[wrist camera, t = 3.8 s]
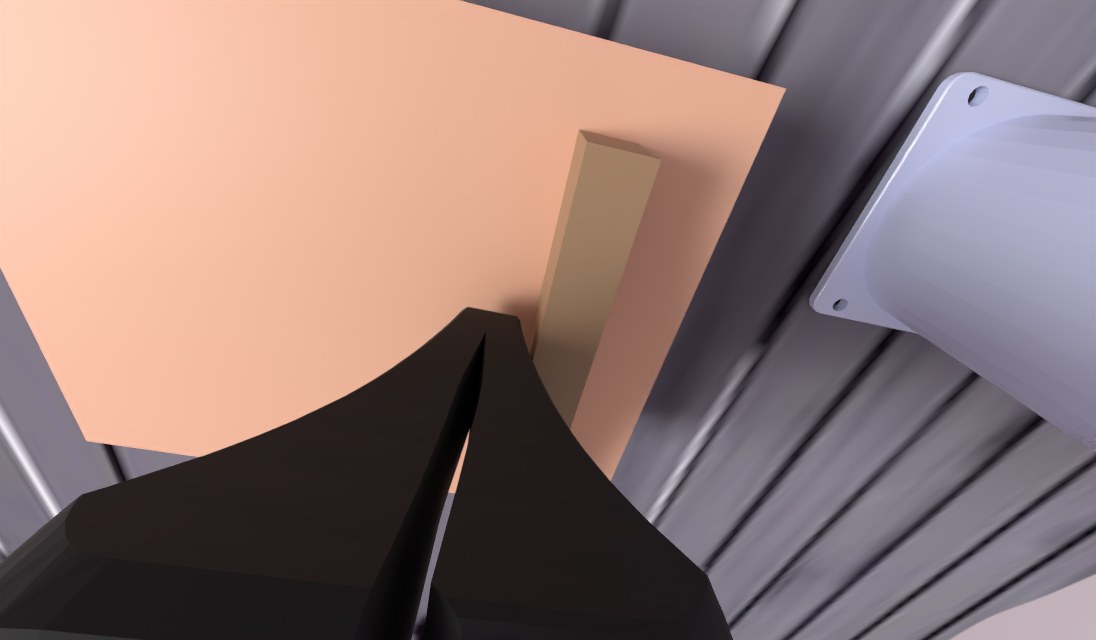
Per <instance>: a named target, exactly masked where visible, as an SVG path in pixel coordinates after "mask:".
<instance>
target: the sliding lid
mask: <svg viewBox="0 0 1096 640" xmlns="http://www.w3.org/2000/svg"><path fill="white" fill-rule="evenodd" d="M785 90H786V88H782V87H778V86H775V85H771V84H767V83H764V82H760V81H756V80H753V79H749V78H745V77H742V76H738V75H734V74H730V73H727V72H723V71H719V70H716V69H712V68H708V67H705V66H701V65H697V64H694V63H690V62H686V61H682V60H679V59H675V58H671V57H668V56H664V55H660V54H657V53H653V52H649V51H645V50H642V49H638V48H634V47H631V46H627V45H623V44H620V43H616V42H612V41H609V40H605V39H601V38H597V37H594V36H590V35H586V34H583V33H579V32H575V31H572V30H568V29H564V28H561V27H557V26H553V25H549V24H546V23H542V22H538V21H535V20H531V19H527V18H524V17H520V16H516V15H513V14H509V13H505V12H501V11H498V10H494V9H490V8H487V7H483V6H479V5H476V4H472V3H468V2H464V1H461V0H0V268H1V270H2V272H3V274H4V276H5V278H6V280H7V282H8V284H9V286H10V288H11V290H12V292H13V294H14V296H15V298H16V300H17V302H18V304H19V306H20V308H21V310H22V312H23V314H24V316H25V318H26V320H27V322H28V324H29V326H30V328H31V330H32V332H33V334H34V336H35V338H36V340H37V342H38V344H39V346H40V348H41V350H42V352H43V354H44V356H45V358H46V360H47V362H48V364H49V366H50V368H51V370H52V372H53V374H54V376H55V378H56V380H57V382H58V385H59V387H60V389H61V391H62V393H63V395H64V397H65V399H66V401H67V403H68V405H69V407H70V409H71V411H72V413H73V415H74V417H75V419H76V421H77V423H78V425H79V427H80V429H81V431H82V433H83V435H84V437H85V439H86V441H91V442H98V443H105V444H112V445H119V446H126V447H133V448H140V449H147V450H154V451H161V452H168V453H175V454H182V455H189V456H196V457H201V456H204V455H207V454H210V453H212V452H215V451H218V450H221V449H223V448H226V447H229V446H231V445H234V444H237V443H239V442H242V441H244V440H247V439H250V438H252V437H255V436H258V435H260V434H262V433H265V432H267V431H270V430H272V429H275V428H277V427H279V426H282V425H284V424H287V423H289V422H291V421H294V420H296V419H298V418H300V417H302V416H304V415H306V414H308V413H311V412H313V411H315V410H317V409H319V408H321V407H323V406H325V405H327V404H329V403H332V402H334V401H336V400H338V399H340V398H342V397H344V396H346V395H348V394H349V393H351V392H353V391H355V390H356V389H358V388H360V387H362V386H363V385H365V384H367V383H369V382H370V381H372V380H374V379H375V378H377V377H378V376H380V375H382V374H383V373H385V372H386V371H388V370H389V369H391V368H392V367H394V366H395V365H396V364H398V363H399V362H401V361H402V360H404V359H405V358H406V357H408V356H409V355H411V354H412V353H413V352H415V351H416V350H417V349H419V348H420V347H421V346H423V345H424V344H425V343H426V342H427V341H429V340H430V339H431V338H432V337H434V336H435V335H436V334H437V333H438V332H440V331H441V330H442V329H443V328H444V327H445V326H446V325H447V324H449V323H450V322H451V321H452V320H453V319H454V318H455V317H456V316H457V315H458V314H459V313H460V312H461V311H462V310H463V309H465V308H466V307H472V308H477V309H482V310H487V311H493V312H498V313H503V314H508V315H513V316H517V317H518V319H519V320H520V322H521V328H522V332H523V336H524V339H525V342H526V345H527V348H528V351H529V353H530V356H531V358H532V360H533V363H534V365H535V367H536V370H537V372H538V374H539V376H540V378H541V381H542V383H543V385H544V387H545V388H546V390H547V392H548V394H549V396H550V398H551V400H552V401H553V403H554V405H555V407H556V408H557V410H558V412H559V413H560V415H561V417H562V418H563V420H564V421H565V423H566V424H567V426H568V427H569V429H570V430H571V432H572V433H573V435H574V436H575V437H576V439H577V440H578V442H579V443H580V444H581V446H582V447H583V448H584V450H585V451H586V452H587V454H588V455H589V456H590V457H591V458H592V460H593V461H594V462H595V463H596V465H597V466H598V467H599V468H600V469H601V471H602V472H603V473H604V474H605V475H606V477H607V478H608V479H609V480H610V481H611V478H612V476H613V474H614V472H615V470H616V467H617V465H618V463H619V461H620V458H621V456H622V454H623V452H624V449H625V447H626V445H627V443H628V441H629V438H630V436H631V434H632V432H633V429H634V427H635V425H636V423H637V420H638V418H639V416H640V414H641V412H642V409H643V407H644V405H645V403H646V400H647V398H648V396H649V394H650V391H651V389H652V387H653V385H654V383H655V380H656V378H657V376H658V374H659V371H660V369H661V367H662V365H663V362H664V360H665V358H666V356H667V353H668V351H669V349H670V347H671V345H672V342H673V340H674V338H675V336H676V333H677V331H678V329H679V327H680V324H681V322H682V320H683V318H684V316H685V313H686V311H687V309H688V307H689V304H690V302H691V300H692V298H693V295H694V293H695V291H696V289H697V287H698V284H699V282H700V280H701V278H702V275H703V273H704V271H705V269H706V266H707V264H708V262H709V260H710V257H711V255H712V253H713V251H714V249H715V246H716V244H717V242H718V240H719V237H720V235H721V233H722V231H723V228H724V226H725V224H726V222H727V220H728V217H729V215H730V213H731V211H732V208H733V206H734V204H735V202H736V199H737V197H738V195H739V193H740V191H741V188H742V186H743V184H744V182H745V179H746V177H747V175H748V173H749V170H750V168H751V166H752V164H753V161H754V159H755V157H756V155H757V153H758V150H759V148H760V146H761V144H762V141H763V139H764V137H765V135H766V132H767V130H768V128H769V126H770V124H771V121H772V119H773V117H774V115H775V112H776V110H777V108H778V106H779V103H780V101H781V99H782V97H783V95H784V92H785ZM468 438H469V432H468V435H467V438H466V441H465V444H464V447H463V450H462V453H461V456H460V459H459V462H458V465H457V468H456V471H455V474H454V477H453V480H452V483H451V486H450V489H449V493H455V492H456V488H457V484H458V481H459V477H460V473H461V469H462V465H463V461H464V457H465V453H466V449H467V445H468Z"/></svg>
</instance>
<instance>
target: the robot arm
mask: <svg viewBox="0 0 1096 640" xmlns="http://www.w3.org/2000/svg"><path fill="white" fill-rule="evenodd" d="M974 89H976V94H975V96H974V98H973V100H972V101H971V102H970V103H968V98H969V95H970V94H971V93H972V91H973V90H974ZM839 299H841V300H840V302H839V303H838V304H837V305H835V306H833V304H834V303H835V302H836V301H837V300H839ZM809 305H810V306H811V308H813V309H814V310H815V311H816V312H818V313H821V314H826V315H831V316H835V317H840V318H845V319H850V320H855V321H859V322H864V323H869V324H874V325H879V326H883V327H888V328H893V329H898V330H902V331H907V332H912V333H917V334H919V335H921V336H922V337H924V338H925V339H927V340H928V341H930V342H931V343H933V344H934V345H936V346H937V347H939V348H940V349H942V350H943V351H944V352H946V353H947V354H949V355H950V356H952V357H953V358H955V359H956V360H958V361H959V362H961V363H962V364H964V365H965V366H967V367H968V368H970V369H971V370H973V371H974V372H976V373H977V374H979V375H980V376H982V377H983V378H985V379H986V380H988V381H989V382H991V383H992V384H994V385H995V386H996V387H998V388H999V389H1001V390H1002V391H1004V392H1005V393H1007V394H1008V395H1010V396H1011V397H1013V398H1014V399H1016V400H1017V401H1019V402H1020V403H1022V404H1023V405H1025V406H1026V407H1028V408H1029V409H1031V410H1032V411H1034V412H1035V413H1037V414H1038V415H1040V416H1041V417H1043V418H1044V419H1046V420H1047V421H1048V422H1050V423H1051V424H1053V425H1054V426H1056V427H1057V428H1059V429H1060V430H1062V431H1063V432H1065V433H1066V434H1068V435H1069V436H1071V437H1072V438H1074V439H1075V440H1077V441H1078V442H1080V443H1081V444H1083V445H1084V446H1086V447H1087V448H1089V449H1090V450H1092V451H1093V452H1095V453H1096V108H1095V107H1092V106H1088V105H1085V104H1082V103H1078V102H1075V101H1071V100H1068V99H1064V98H1061V97H1057V96H1054V95H1051V94H1047V93H1044V92H1040V91H1037V90H1033V89H1030V88H1027V87H1023V86H1020V85H1016V84H1013V83H1009V82H1006V81H1002V80H999V79H996V78H992V77H989V76H985V75H982V74H978V73H975V72H958V73H955V74H953V75H950V76H949V77H948V78H946V79H945V80H944V81H943V82H942V83H941V84H940V86H939V87H938V88H937V90H936V92H935V93H934V95H933V96H932V98H931V100H930V101H929V103H928V105H927V106H926V108H925V110H924V111H923V113H922V114H921V116H920V118H919V119H918V121H917V123H916V124H915V126H914V128H913V129H912V131H911V132H910V134H909V136H908V137H907V139H906V141H905V142H904V144H903V146H902V147H901V149H900V150H899V152H898V154H897V155H896V157H895V159H894V160H893V162H892V164H891V165H890V167H889V168H888V170H887V172H886V173H885V175H884V177H883V178H882V180H881V182H880V183H879V185H878V186H877V188H876V190H875V191H874V193H873V195H872V196H871V198H870V200H869V201H868V203H867V204H866V206H865V208H864V209H863V211H862V213H861V214H860V216H859V218H858V219H857V221H856V222H855V224H854V226H853V227H852V229H851V231H850V232H849V234H848V236H847V237H846V239H845V240H844V242H843V244H842V245H841V247H840V249H839V250H838V252H837V254H836V255H835V257H834V258H833V260H832V262H831V263H830V265H829V267H828V268H827V270H826V272H825V273H824V275H823V276H822V278H821V280H820V281H819V283H818V285H817V286H816V288H815V290H814V291H813V293H812V294H811V296H810V299H809ZM468 432H469V438H468V445H467V449H466V453H465V457H464V461H463V465H462V469H461V473H460V477H459V481H458V484H457V488H456V492H455V496H454V500H453V504H452V507H451V511H450V515H449V518H448V522H447V526H446V530H445V533H444V537H443V541H442V545H441V548H440V552H439V556H438V559H437V563H436V567H435V570H434V574H433V577H432V581H431V587H430V594H429V601H428V608H427V616H426V623H425V630H424V637H423V640H733V638H732V636H731V633H730V630H729V627H728V624H727V622H726V619H725V616H724V614H723V611H722V609H721V607H720V605H719V602H718V600H717V598H716V595H715V593H714V591H713V588H712V586H711V583H710V580H709V578H708V576H707V575H706V574H705V573H704V572H703V571H702V570H701V569H700V568H699V567H697V566H696V565H695V564H694V563H693V562H692V561H691V560H690V559H689V558H688V557H687V556H685V555H684V554H683V553H682V552H681V551H680V550H679V549H678V548H677V547H676V546H675V545H673V544H672V543H671V542H670V541H669V540H668V539H667V538H666V537H665V536H664V535H663V534H661V533H660V532H659V531H658V530H657V529H656V528H655V527H654V526H653V525H652V524H651V523H650V522H649V521H648V520H647V519H646V518H645V517H644V516H643V515H642V514H641V513H640V512H639V511H638V510H637V509H636V508H635V507H634V506H633V505H632V504H631V503H630V502H629V501H628V500H627V499H626V498H625V497H624V496H623V495H622V493H621V492H620V491H619V490H618V489H617V488H616V487H615V486H614V485H613V484H612V483H611V481H610V480H609V479H608V478H607V477H606V475H605V474H604V473H603V472H602V471H601V469H600V468H599V467H598V466H597V465H596V463H595V462H594V461H593V460H592V458H591V457H590V456H589V455H588V454H587V452H586V451H585V450H584V448H583V447H582V446H581V444H580V443H579V442H578V440H577V439H576V437H575V436H574V435H573V433H572V432H571V430H570V429H569V427H568V426H567V424H566V423H565V421H564V420H563V418H562V417H561V415H560V413H559V412H558V410H557V408H556V407H555V405H554V403H553V401H552V400H551V398H550V396H549V394H548V392H547V390H546V388H545V387H544V385H543V383H542V381H541V378H540V376H539V374H538V372H537V370H536V367H535V365H534V363H533V360H532V358H531V356H530V353H529V351H528V348H527V345H526V342H525V339H524V336H523V332H522V328H521V322H520V320H519V319H518V317H517V316H513V315H508V314H503V313H498V312H493V311H487V310H482V309H477V308H472V307H466V308H465V309H463V310H462V311H461V312H460V313H459V314H458V315H457V316H456V317H455V318H454V319H453V320H452V321H451V322H450V323H449V324H447V325H446V326H445V327H444V328H443V329H442V330H441V331H440V332H438V333H437V334H436V335H435V336H434V337H432V338H431V339H430V340H429V341H427V342H426V343H425V344H424V345H423V346H421V347H420V348H419V349H417V350H416V351H415V352H413V353H412V354H411V355H409V356H408V357H406V358H405V359H404V360H402V361H401V362H399V363H398V364H396V365H395V366H394V367H392V368H391V369H389V370H388V371H386V372H385V373H383V374H382V375H380V376H378V377H377V378H375V379H374V380H372V381H370V382H369V383H367V384H365V385H363V386H362V387H360V388H358V389H356V390H355V391H353V392H351V393H349V394H348V395H346V396H344V397H342V398H340V399H338V400H336V401H334V402H332V403H329V404H327V405H325V406H323V407H321V408H319V409H317V410H315V411H313V412H311V413H308V414H306V415H304V416H302V417H300V418H298V419H296V420H294V421H291V422H289V423H287V424H284V425H282V426H279V427H277V428H275V429H272V430H270V431H267V432H265V433H262V434H260V435H258V436H255V437H252V438H250V439H247V440H244V441H242V442H239V443H237V444H234V445H231V446H229V447H226V448H223V449H221V450H218V451H215V452H212V453H210V454H207V455H204V456H201V457H198V458H196V459H192V460H189V461H186V462H183V463H180V464H177V465H174V466H171V467H168V468H165V469H162V470H159V471H155V472H152V473H149V474H146V475H143V476H140V477H137V478H134V479H131V480H128V481H125V482H121V483H118V484H115V485H112V486H109V487H106V488H102V489H99V490H96V491H92V492H89V493H86V494H82V495H81V496H79V497H78V498H77V499H76V500H75V501H73V502H72V503H71V504H70V505H68V506H67V507H66V508H65V509H63V510H62V511H61V512H60V513H59V514H57V515H56V516H55V517H54V518H53V519H51V520H50V521H49V522H48V523H47V524H45V525H44V526H43V527H42V528H41V529H39V530H38V531H37V532H36V533H35V534H34V535H32V536H31V537H30V538H29V539H28V540H27V541H26V542H24V543H23V544H22V545H21V546H20V547H19V548H18V549H16V550H15V551H14V552H13V553H12V554H11V555H10V556H8V557H7V558H6V559H5V560H4V561H3V562H2V563H0V640H411V639H412V634H413V630H414V626H415V621H416V617H417V613H418V609H419V604H420V600H421V596H422V592H423V588H424V583H425V579H426V575H427V571H428V567H429V562H430V558H431V554H432V550H433V546H434V542H435V537H436V533H437V529H438V525H439V521H440V518H441V514H442V511H443V507H444V504H445V501H446V498H447V495H448V492H449V489H450V486H451V483H452V480H453V477H454V474H455V471H456V468H457V465H458V462H459V459H460V456H461V453H462V450H463V447H464V444H465V441H466V438H467V435H468Z"/></svg>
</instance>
